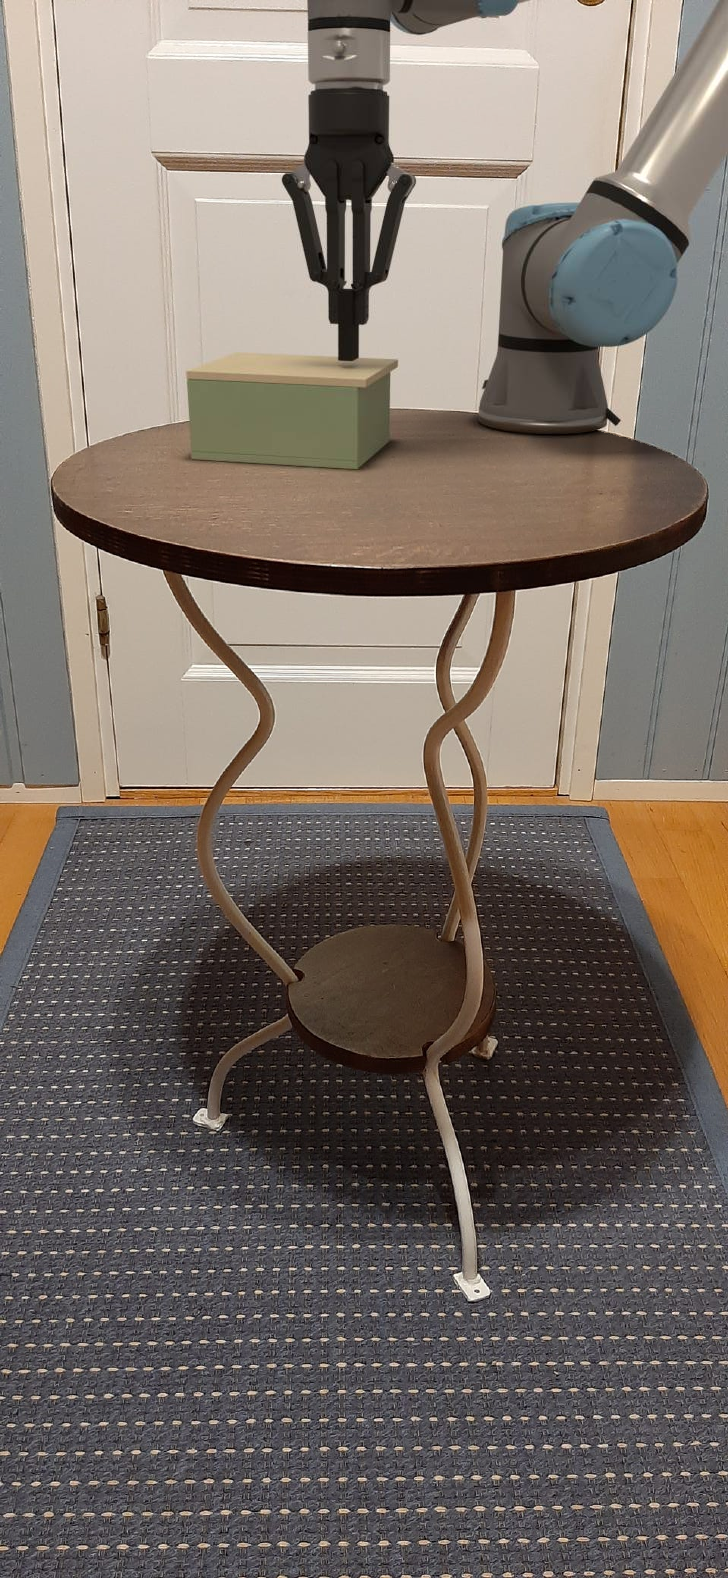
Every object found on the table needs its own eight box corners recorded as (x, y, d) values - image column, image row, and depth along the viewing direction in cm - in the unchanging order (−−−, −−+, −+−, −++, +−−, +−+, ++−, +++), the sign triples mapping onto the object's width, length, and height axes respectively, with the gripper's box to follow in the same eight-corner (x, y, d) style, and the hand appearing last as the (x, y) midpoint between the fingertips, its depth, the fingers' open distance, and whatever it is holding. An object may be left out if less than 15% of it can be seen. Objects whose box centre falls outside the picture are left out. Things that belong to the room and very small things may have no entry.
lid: (397, 367, 123) (398, 359, 123) (365, 387, 111) (365, 379, 110) (235, 360, 127) (235, 352, 127) (186, 379, 114) (186, 370, 114)
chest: (389, 441, 127) (390, 367, 123) (357, 469, 114) (357, 387, 111) (238, 433, 131) (235, 360, 127) (191, 459, 118) (186, 379, 114)
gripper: (268, 85, 104) (276, 361, 115) (409, 84, 101) (403, 366, 112) (293, 91, 111) (297, 352, 122) (426, 90, 108) (418, 357, 119)
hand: (348, 358), depth 117 cm, fingers closed
